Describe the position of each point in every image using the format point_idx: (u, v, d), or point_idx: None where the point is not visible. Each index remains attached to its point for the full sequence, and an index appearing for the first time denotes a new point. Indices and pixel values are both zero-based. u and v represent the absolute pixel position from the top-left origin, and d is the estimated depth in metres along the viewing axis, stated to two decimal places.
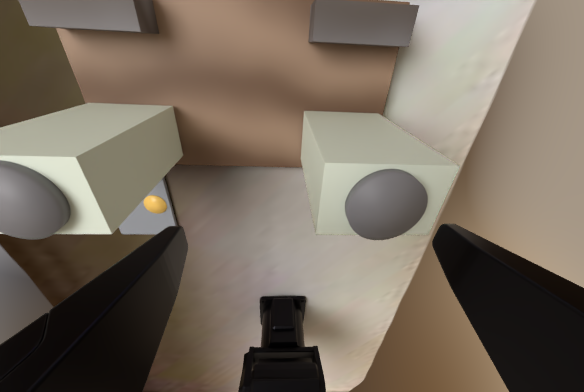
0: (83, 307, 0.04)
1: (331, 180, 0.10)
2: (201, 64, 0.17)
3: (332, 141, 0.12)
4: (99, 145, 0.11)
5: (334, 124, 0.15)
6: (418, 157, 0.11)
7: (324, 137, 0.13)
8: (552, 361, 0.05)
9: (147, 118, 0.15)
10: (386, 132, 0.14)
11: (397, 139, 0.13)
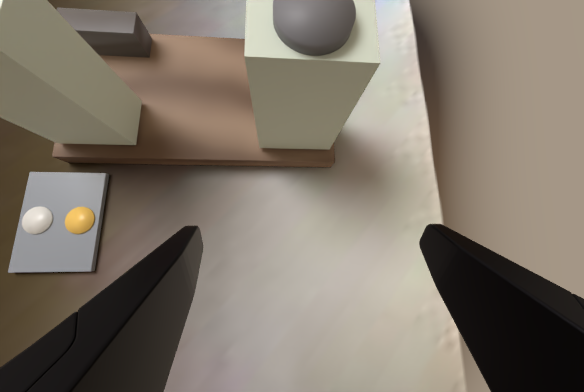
0: (111, 306, 0.05)
1: None
2: (176, 75, 0.21)
3: None
4: None
5: None
6: None
7: None
8: (532, 362, 0.05)
9: (109, 68, 0.16)
10: None
11: None
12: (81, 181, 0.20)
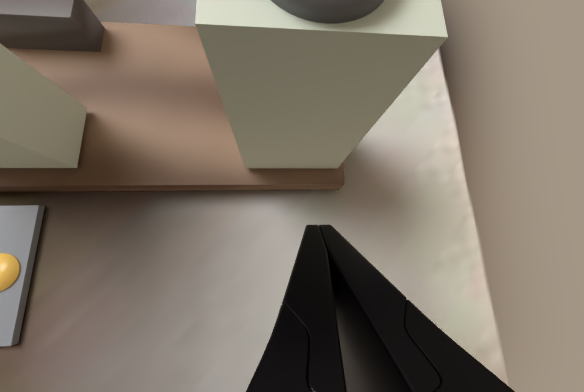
0: (311, 299, 0.05)
1: None
2: (135, 74, 0.16)
3: None
4: None
5: None
6: None
7: None
8: (367, 372, 0.05)
9: (23, 62, 0.11)
10: None
11: None
12: (3, 218, 0.14)
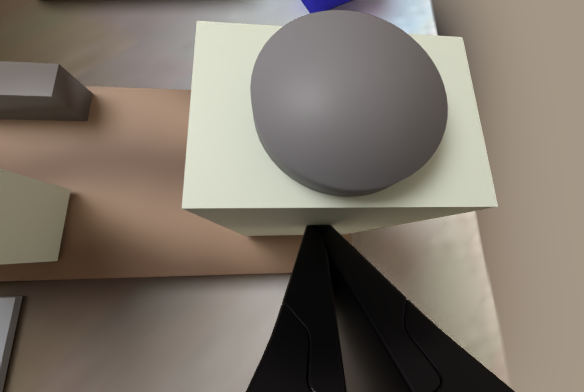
0: (311, 299, 0.05)
1: (213, 55, 0.05)
2: (125, 146, 0.15)
3: None
4: None
5: None
6: None
7: None
8: (367, 372, 0.05)
9: None
10: None
11: None
12: None
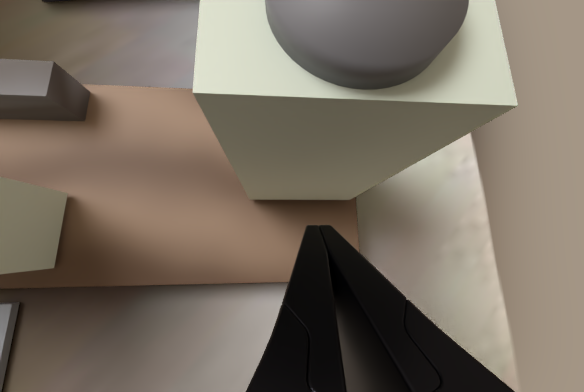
0: (311, 299, 0.05)
1: None
2: (124, 148, 0.14)
3: None
4: None
5: None
6: None
7: None
8: (366, 372, 0.05)
9: None
10: None
11: None
12: None
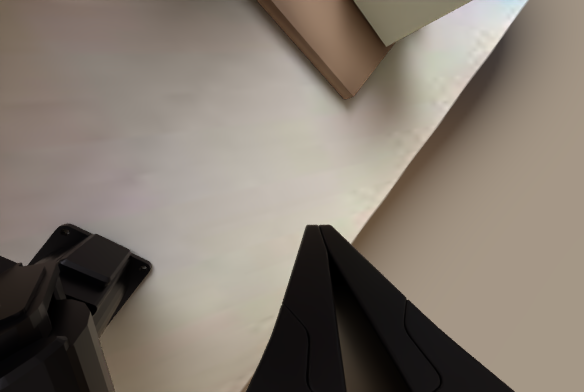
0: (311, 299, 0.05)
1: None
2: None
3: None
4: None
5: None
6: None
7: None
8: (367, 372, 0.05)
9: None
10: None
11: None
12: None
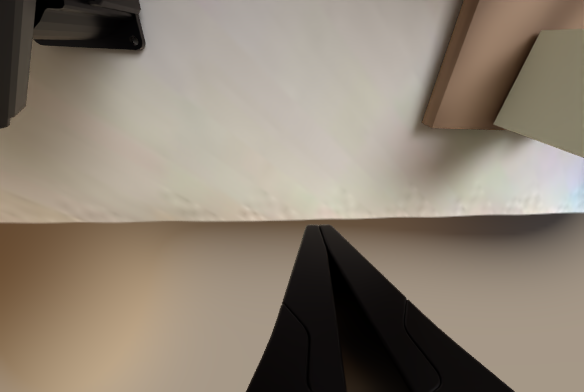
0: (311, 299, 0.05)
1: None
2: None
3: None
4: None
5: None
6: None
7: None
8: (367, 372, 0.05)
9: None
10: None
11: None
12: None
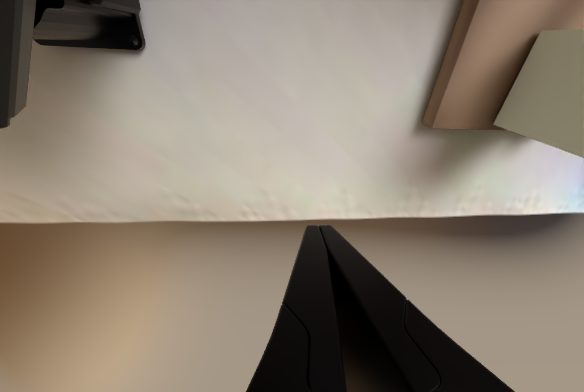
0: (311, 299, 0.05)
1: None
2: None
3: None
4: None
5: None
6: None
7: None
8: (367, 372, 0.05)
9: None
10: None
11: None
12: None
